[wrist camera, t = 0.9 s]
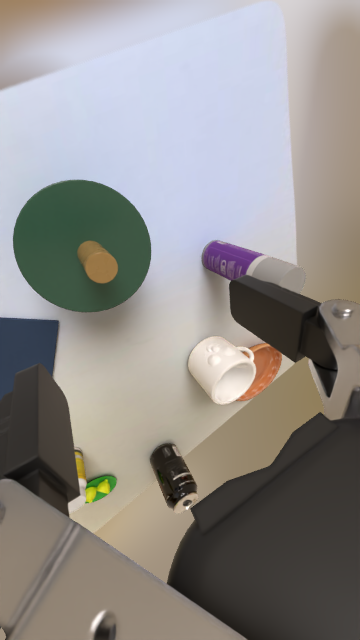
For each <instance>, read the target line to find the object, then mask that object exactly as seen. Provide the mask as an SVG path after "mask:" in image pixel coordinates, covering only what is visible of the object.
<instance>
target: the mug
mask: <svg viewBox="0 0 360 640" xmlns="http://www.w3.org/2000/svg"><path fill="white" fill-rule="evenodd" d="M241 351H245V352H247V353H248V354H249V356H250V358H248V357H247V356H245V355H244V354H243V353H242V352H241ZM253 361H254V354H253V352H252V351H251V350H250V349H248V348H246V347H234V346H233V345H232V344H231V343H230V342H228V341H227V340H226V339H224V338H222V337H219V336H213V337H209V338H206V339H204V340H203V341H201V342H200V343H199V344H197V345H196V347H195V348H194V349H193V351H192V352H191V354H190V357H189V360H188V368H189V371H190V373H191V374H192V376H193V377H194V378H195V379H196V381H197V382H198V383H199V384H200V386H201V387H202V388H203V389H204V390H205V392H206V393H207V394H208V395H209V397H210V398H211V399H212V400H213V401H214V402H215V403H216V404H219V405H225V404H229V403H231V402H233V401H235V400H237V399H238V398H240V397H241V396H242V395H243V394H244V393H245V392H246V391H247V390H248V389H249V387H250V386H251V384H252V382H253V381H254V378H255V375H256V366H255V364H254V362H253Z"/></svg>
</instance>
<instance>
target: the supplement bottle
mask: <svg viewBox="0 0 360 640" xmlns="http://www.w3.org/2000/svg"><path fill="white" fill-rule="evenodd" d="M74 451H75V458H76V465H77V473H78V480H79V487H80V494H81V495H80V496H79V497H77V498H76V499H74V500H72V501H71V502H69V503H68V509H69V513H72V512H74V511H76V510H78V509H79V508H81V507H82V506H83V505H84V504H85V502H86V492H85V488H86V485H87V481H86V475H85V469H84V462H83V455H82V451H81V450H80V449H79V448H76V447H74Z"/></svg>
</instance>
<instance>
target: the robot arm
mask: <svg viewBox="0 0 360 640" xmlns="http://www.w3.org/2000/svg"><path fill="white" fill-rule="evenodd" d="M229 292H230V309H231V314H232V316H233V318H234V320H235V321H236V322H237V323H239V324H240V325H241V326H243V327H244V328H246V329H247V330H249V331H250V332H252V333H253V334H254V335H256V336H257V337H259V338H260V339H262V340H263V341H265V342H266V343H267V344H269V345H270V346H272V347H273V348H275V349H276V350H278V351H279V352H280V353H282V354H283V355H285V356H286V357H288V358H289V359H291V360H292V361H293V362H295V363H296V362H297V361H299V360H301V359H302V358H304V357H305V356H306V357H308V358H309V367H310V370H311V373H312V376H313V378H314V381H315V384H316V386H317V389H318V392H319V395H320V397H321V400H322V403H323V406H324V415H323V414H322V413H321V412H320V413H318V414H317V415H316V416H314V417H313V418H311V419H310V420H309V421H308V422H306V423H305V424H303V425H302V426H301V427H299V428H298V429H297V430H295V431H294V432H293V433H292V435H291V436H290V438H289V439H288V441H287V442H286V444H285V445H284V447H283V448H282V450H281V451H280V453H279V454H278V456H277V457H276V459H275V460H274V462H273V463H272V464H271V465H270V466H268V467H266V468H263V469H260V470H257V471H254V472H252V473H249V474H246V475H243V476H240V477H237V478H234V479H232V480H229V481H227V482H226V483H224V484H223V485H221V486H220V487H219V488H217V489H216V490H215V491H213V492H212V493H211V494H209V495H208V496H207V497H205V498H204V499H203V500H201V501H200V502H199V503H197V504H196V505H194V506H193V507H192V508H191V512H192V514H193V516H194V519H195V520H194V522H193V523H192V524H191V526H190V527H189V529H188V530H187V532H186V533H185V535H184V537H183V539H182V540H181V542H180V545H179V547H178V549H177V552H176V554H175V556H174V559H173V562H172V565H171V569H170V572H169V576H168V581H167V584H166V583H165V582H163V581H162V580H160V579H159V578H157V577H156V576H154V575H153V574H151V573H150V572H149V571H147V570H146V569H144V568H143V567H141V566H140V565H138V564H137V563H135V562H134V561H133V560H131V559H130V558H128V557H127V556H125V555H124V554H122V553H121V552H119V551H118V550H116V549H115V548H113V547H112V546H111V545H109V544H108V543H106V542H105V541H103V540H102V539H100V538H99V537H97V536H96V535H94V534H93V533H92V532H90V531H89V530H87V529H86V528H84V527H83V526H81V525H80V524H78V523H77V522H75V521H73V520H72V519H70V518H69V509H68V503H69V502H71V501H72V500H74V499H76V498H77V497H79V496H80V495H81V494H80V487H79V480H78V473H77V465H76V458H75V451H74V443H73V436H72V429H71V422H70V414H69V407H68V403H67V400H66V397H65V395H64V393H63V392H62V390H61V389H60V387H59V386H58V385H57V383H56V382H55V380H54V379H53V378H52V376H51V375H50V374H49V372H48V371H47V369H46V368H45V367H44V366H43V365H42V364H41V363H38V364H36V365H34V366H31V367H29V368H27V369H24V370H22V371H20V372H17V373H16V374H15V378H14V386H13V391H12V392H9V393H7V394H5V395H4V396H3V398H2V399H1V401H0V628H1V627H2V629H3V630H4V632H5V634H6V639H5V640H360V304H358V303H356V302H352V301H348V300H340V299H335V300H329V301H325V302H323V303H320V302H317V301H315V300H313V299H310V298H308V297H305V296H303V295H301V294H298V293H296V292H293V291H290V290H289V289H286V288H282V286H279V285H277V284H274V283H272V282H266V281H261V280H259V279H257V278H254V277H252V276H250V275H243V276H241V277H239V278H237V279H234V280H232V281H231V282H230V284H229Z"/></svg>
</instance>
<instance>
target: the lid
mask: <svg viewBox="0 0 360 640" xmlns="http://www.w3.org/2000/svg"><path fill="white" fill-rule="evenodd" d="M13 248H14V253H15V258H16V261H17V264H18V267H19V269H20V271H21V273H22V275H23V276H24V278H25V279H26V281H27V282H28V284H29V285H30V286H31V287H32V288H33V289H34V290H35V291H36V292H37V293H38V294H39V295H41V296H42V297H43V298H45V299H46V300H48V301H49V302H51V303H53V304H55V305H57V306H59V307H62V308H65V309H68V310H72V311H78V312H98V311H103V310H107V309H110V308H113V307H115V306H117V305H119V304H121V303H123V302H124V301H126V300H127V299H128V298H130V297H131V296H132V295H133V294H134V293H135V292H136V291H137V290H138V288H139V287H140V286H141V284H142V282H143V281H144V279H145V277H146V275H147V272H148V269H149V266H150V260H151V242H150V237H149V233H148V230H147V227H146V225H145V222H144V220H143V218H142V217H141V215H140V213H139V212H138V211H137V209H136V208H135V207H134V206H133V205H132V204H131V203H130V202H129V201H128V200H127V199H126V198H125V197H124V196H123V195H121V194H120V193H118V192H117V191H115V190H113V189H112V188H110V187H107V186H105V185H103V184H100V183H96V182H93V181H87V180H67V181H61V182H57V183H54V184H51V185H49V186H47V187H45V188H43V189H41V190H40V191H39V192H37V193H36V194H34V195H33V196H32V197H31V198H30V199H29V200H28V201H27V203H26V204H25V206H24V207H23V208H22V210H21V212H20V214H19V216H18V218H17V221H16V224H15V228H14V235H13Z"/></svg>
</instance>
